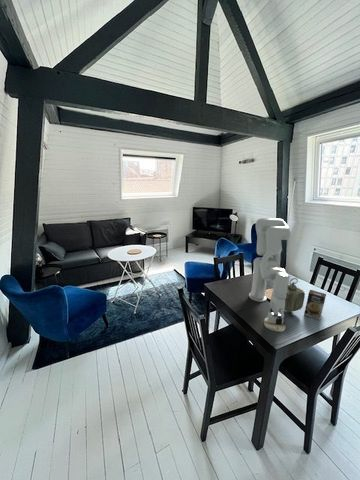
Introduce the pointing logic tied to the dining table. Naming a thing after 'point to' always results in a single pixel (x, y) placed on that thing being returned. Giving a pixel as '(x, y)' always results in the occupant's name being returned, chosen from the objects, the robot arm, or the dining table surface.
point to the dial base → (274, 326)
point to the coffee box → (315, 304)
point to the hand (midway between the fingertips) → (275, 319)
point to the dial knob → (273, 318)
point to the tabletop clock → (294, 298)
